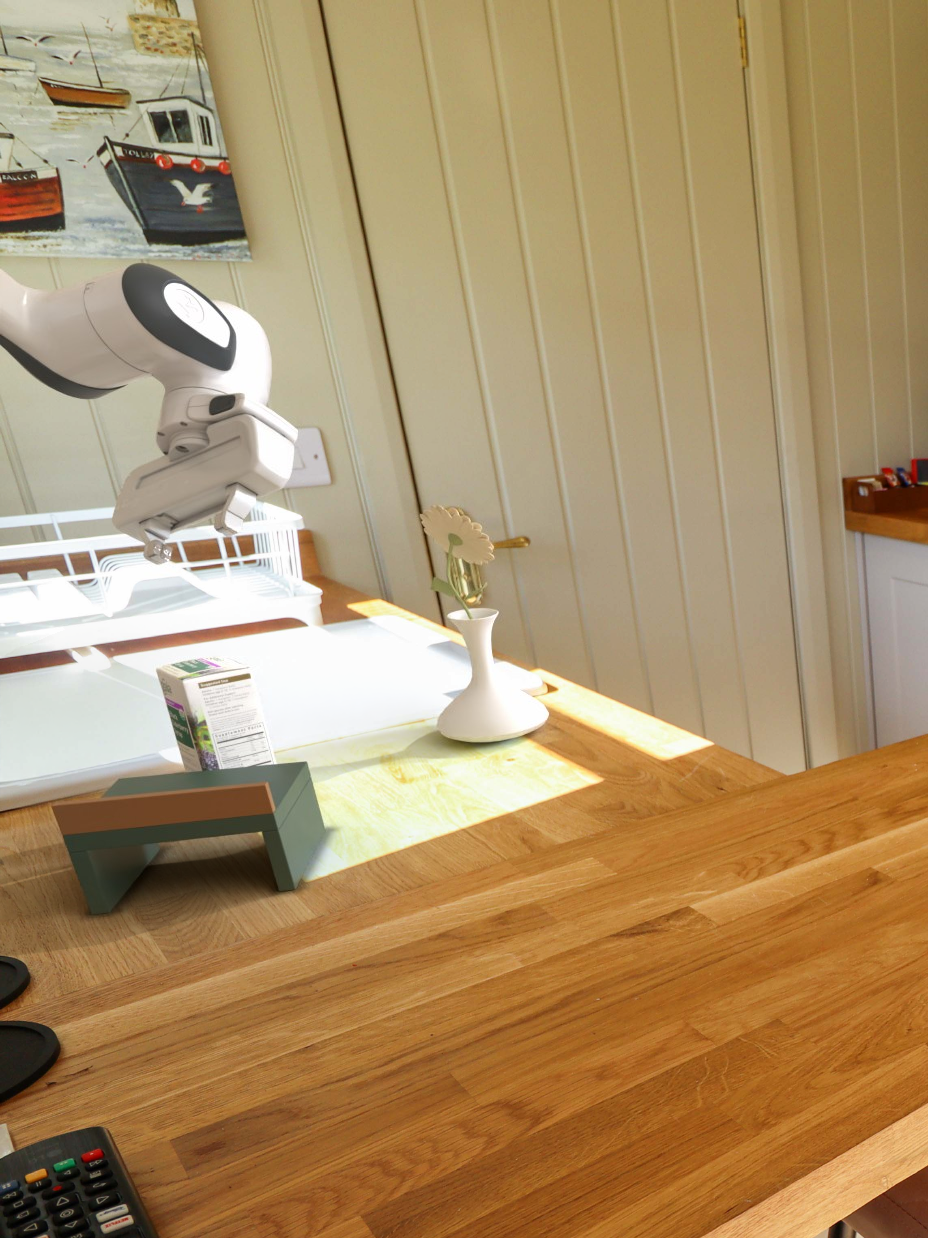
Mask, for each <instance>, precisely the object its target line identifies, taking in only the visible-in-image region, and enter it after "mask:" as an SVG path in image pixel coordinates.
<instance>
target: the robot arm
mask: <svg viewBox="0 0 928 1238" xmlns="http://www.w3.org/2000/svg"><path fill="white" fill-rule="evenodd" d="M0 347H2V348H3V349H4V350H5V351H6V352H7V353H8V354H9V355H10V356H11V357H12V358H13V359H14V360H15V361H16V362H17V363H18V364H19V365H20V366H21V368H23V369H24V370H25V371H26V372H28V373H29V374H30V375H31V377H33V378H35V379H36V380H37V381H39V382H40V383H42V384H43V385H45V386H46V387H48V388H50V389H52V390H54V391H57V392H58V393H61V394H63V395H66V396H69V397H71V398H75V399H80V400H96V399H99V398H102V397H104V396H106V395H109V394H111V393H113V392H116V391H117V390H120V389H123V388H124V387H126V386H128V385H129V384H132V383H136V382H138V381H143V380H144V379H148V378H151V377H152V378H154V379H156V380H157V381H159V382H160V383H161V384H162V385H163V387H164V395H163V397H162V402H161V407H160V411H159V412H160V413H159V417H158V421H157V427H156V430H155V431H156V432H155V442H156V445H157V447H158V449H159V451H161V453H162V454H163V455H162V456H160V457H158V458H156V459H153V460H151V461H148V462H147V463H146V462H145V463H143V464H142V465H139V466H137V467H135V468H134V469H133V470H131V471H130V472H129V473H128V475H127V476H126V478H125V480H124V481H123V484H122V485H121V487H120V488H121V489H120V491H119V494H118V497H117V500H116V503H115V505H114V510H113V513H112V518H111V522H112V524H113V526H114V527H115V528H116V530H118V531H119V532H121V533H123V534H125V535H127V536H129V537H131V538H133V539H134V540H137V541H139V542H141V543H143V544H144V549H143V553H142V554H143V558H144V559H145V560H147V561H148V562H150V563H152V564H155V565H157V566H160V565H162V564H165V563H167V562H169V561H171V560H172V555H173V553H174V547H172V546H170V545H168V544H166V541H167V540H169V539H170V536H171V535H172V534H175V533H178V532H180V531H182V530H185V529H187V528H189V527H192V526H194V525H196V524H200V523H202V522H205V521H207V520H210V519H212V518H214V521H215V522H214V523H213V528H214V530H215V531H216V532H218V533H220V534H222V535H223V536H225V537H227V538H229V537H232V536H234V535H237V534H240V533H242V531H243V525H244V520H245V519H246V518H247V517H248V515H249V514H250V513H251V511H252V509H253V508H254V507H255V505H256V501H257V500H258V499H261V498H263V497H266V496H268V495H271V494H273V493H276V492H278V491H281V490H282V489H283V488H284V487H285V486H286V485H287V484H288V482H289V481H290V479H291V477H292V473H293V469H294V463H295V454H296V453H295V452H296V448H295V444H296V443H297V441H298V438H299V429H298V428H296V426H294V425H293V424H292V423H290V422H289V421H288V420H286V419H285V418H284V417H282V416H281V415H280V414H278V413H277V412H275V411H274V410H272V409H271V408H269V407H268V406H267V405H268V402H269V400H270V395H271V388H272V380H273V379H272V377H273V357H272V351H271V346H270V342H269V339H268V336H267V333H266V332H265V330H264V328H263V326H262V325H261V324H260V323H259V321H258V320H257V319H255V318H254V317H253V316H252V315H251V314H250V313H249V312H247V311H246V310H244V309H243V308H240V307H239V306H237V305H234V304H233V303H231V302H227V301H224V300H223V301H222V300H220V299H219V300H218V299H210V298H209V297H207V296H206V295H205V294H204V293H202V292H201V291H200V290H198V289H197V287H195V286H194V285H192V284H191V283H189V282H188V281H186V280H185V279H183V278H182V277H180V276H179V275H177V274H175V273H174V272H172V271H169V270H168V269H166V268H163V267H161V266H158V265H155V264H151V263H146V262H135V263H133V264H129V265H125V266H122V267H119V268H115V269H113V270H110V271H106V272H103V273H101V274H98V275H95V276H92V277H91V278H88V279H85V280H82V281H80V282H77V283H74V284H70V285H66V286H63V287H61V288H56V289H41V288H35V287H30V286H26V285H24V284H22V283H21V282H18V280H16V279H15V278H14V277H12V276H11V275H10V274H8V272H6V271H5V270H3V269H2V268H1V267H0Z"/></svg>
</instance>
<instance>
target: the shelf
mask: <svg viewBox="0 0 928 1238" xmlns="http://www.w3.org/2000/svg"><path fill="white" fill-rule="evenodd" d="M50 807H51V809H52V813H53V816H54V819H55V820H56V823H57V826H58V829H59V831H60V834H61V836H62V840H63V842H64V845H65V847H66V849H67V852H68V855H69V858H70V861H71V865H72V866H73V869H74V871H75V872H74V873H75V874H76V877H77V880H78V882H79V884H80V887H81V890H82V893H83V895H84V898H85V902H86V903H87V907H88V909H89V912H90V914H91V915H92V916H95V915H102V914H110V913H111V912H112V910H113V909H114V908H115V906H117V904H118V903H119V902H120V901H121V899H122V898H123V897H124V895H125V894H126V893H127V892H128V891H129V889H130V888H131V887H132V885H133V884H134V883H135V881H136V880H138V878H139V877H140V876H141V875H142V873H143V872H144V870H145V869H146V868H147V867H148V865H149V864H150V863H151V862H152V860H153V859H154V858H155V857H156V855H157V854H158V853H159V852H160V846H159V844H161V843H171V842H181V841H188V840H189V841H190V840H199V839H208V838H217V837H227V836H235V835H245V834H254V833H261V834H262V838H263V841H264V845H265V847H266V851H267V855H268V858H269V862H270V866H271V869H272V873H273V876H274V878H275V882H276V885H277V889H278V891H279V892H288V891H295V890H296V889H297V887H298V885H299V883H300V881H302V880H301V879H302V878H303V876H304V874H305V872H306V870H307V869H308V866H309V864H310V862H311V861H312V859H313V856H314V855H315V852H316V851H317V849H318V847H319V845H320V843H321V842H322V839H323V837H324V835H325V834H326V827H325V823H324V820H323V815H322V813H321V808H320V805H319V800H318V796H317V793H316V789H315V787H314V782H313V779H312V775H311V770H310V768H309V763H308V761H304V760H303V761H295V762H286V763H283V762H282V763H277V764H272V765H261V766H250V767H239V768H229V769H218V770H207V771H196V772H186V771H185V772H178V773H177V772H176V773H165V774H155V775H154V774H153V775H144V776H135V777H134V776H132V777H123V778H121V777H120V778H118V779H117V780H116V781H115V782H114V783H113V784H112V785H111V786H110V787H109V788H108V789H107V790H106V791H105V792H104V793H103V794H102V795H101V796H100V797H95V798H84V799H75V800H64V801H55V802H54V803H53V804H52V805H50Z"/></svg>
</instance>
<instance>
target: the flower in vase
mask: <svg viewBox="0 0 928 1238" xmlns="http://www.w3.org/2000/svg"><path fill="white" fill-rule="evenodd" d="M419 518H420V519H421V525H422V526H423V527H424V528H423V531H424V533H425V534H426V535H427V536H429V537H430V538H432V540H433V542H434V543H435V545H437V546H441V549H442V550H443V551H444V552H445V553H447V561H446V572H445V573H446V579H447V581H445V580H443V579H441V578H439V577H437V576H434V577H433V579H432V583H431V585H430V588H429V589H430V590H431V591H435V592H439V593H442V594H443V595H446V596H448V597H451V598H453V597H456V599H457V600H458V602H459V604H460V605H461V606H462V608H463V609H460V610H455V611H452V612H449V613H448V614H447V615H446V618H447V619H448V620H449V621H450V622H451V623H452V624H453V625H454V626H455V627H456V628H457V630H458V631H459V633H460V634H461V636H462V639H463V641H464V643H465V646H466V649H467V652H468V656H469V660H470V666H471V679H470V682H469V684H468V685H466V688H464V690H462V691H461V692H460V693H459V695H457V696H456V697H455V698H454V699H453V700H452V701H451V702H450V703H449V704H447V706H446V707H445V708H444V709H443V710H442V712H441V713H440V715H439V716H438V718H437V721H436V730H438V732H440V734H441V735H442V736H444V737H445V738H447V739H451V740H455V741H459V742H466V743H493V742H500V741H501V742H502V741H505V740H512V739H515V738H519V737H523V736H524V735H526V734H529V733H532V732H534V731H536V730H538V729H539V728H541V727H542V726H543V725H544V724H546V721H547V720H548V718H549V711H548V709H547V708H546V706H545V704H543V703H542V702H540V701H539V700H538V699H537V698H535V697H533V696H531V695H530V694H528V693H526V692H525V691H522V690H520V689H519V688H516V687H515V686H513V685H511V684H509V683H508V682H506V681H505V680H504V679H502V678H501V676H500V675H499V674H498V671H497V669H496V666H495V662H494V657H493V651H492V650H493V649H492V630H493V626H494V622H495V620H496V618H497V617H498V615H499V610H497V609H495V608H488V607H477V608H475V607H474V608H468V606H467V605H466V602H465V601H467V600H470V599H471V598H473V597H475V596H476V595H478V594H479V593H480V592H481V591H482V590H483V589H485V588H486V587H487V586H488V582H487V581H486V582H484V584H483V586H482V587H480V588H476V589H475V590H473V591H471V592H470V593H468V594H467V595H466V596H465V598H463V599H462V597H461V595H460V594H459V593H458V591H457V589H456V588H455V586H454V584H453V582H452V579H451V564H452V557H454V558H455V559H458V560H460V559H462V560H464V562H466V563H468V564H471V565H472V564H475V565H478V566H483V564H489V563H490V562H489V561H494V560H495V559H496V558H495V556H494V554H493V552H494V550H495V547H494V545H493V544H492V542H491V541H490V536H489V535H488V534H486V533H484V532H482V530H483V526H482V525H481V524H480V523H478V522H471V518H470V517H469V516H467V515H466V514H465V515H460V513H459V511H458V510H457V509H456V507H449V509H448V510H446V509H445V508H444V507H443V506H442V505H440V504H435V505H433V504H432V505H430V509H423V510H422V513H419Z"/></svg>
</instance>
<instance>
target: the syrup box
mask: <svg viewBox="0 0 928 1238" xmlns="http://www.w3.org/2000/svg"><path fill="white" fill-rule="evenodd" d="M155 672H156V674H157V678H158V681H159V684H160V688H161V691H162V695H163V698H164V701H165V705H166V709H167V712H168V715H169V719H170V722H171V723H170V724H171V726H172V730H173V734H174V737H175V740H176V743H177V746H178V750H179V754H180V757H181V761H182V764H183V767H184V771H185V772H196V771H207V770H218V769H229V768H239V767H250V766H261V765H272V764H278V762H277V759H276V757H275V754H274V753H275V752H274V748H273V745H272V742H271V738H270V734H269V730H268V726H267V723H266V719H265V718H266V717H265V715H264V710H263V707H262V703H261V700H260V696H259V692H258V688H257V685H256V681H255V678H254V674H253V670H252V667H251V666H250V665H244V664H242V663H241V662H238V661H236V660H233V659H231V658H228V657H226V656H224V655H221V656H208V657H207V656H206V657H198V658H192V659H187V660H182V661H178V662H173V663H169V664H167V665H162V666H160V667H159V666H158V667H157V668H155Z"/></svg>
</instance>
